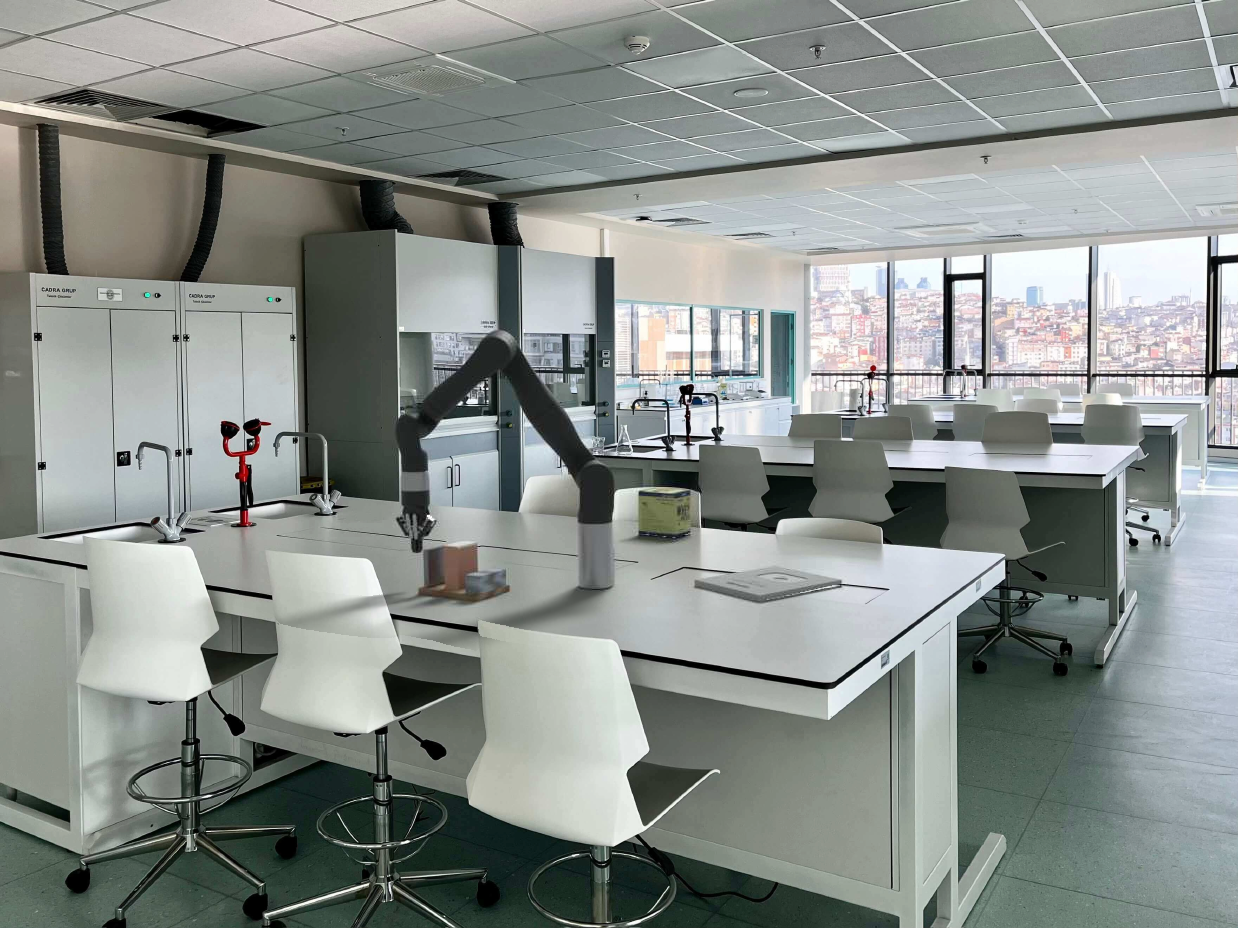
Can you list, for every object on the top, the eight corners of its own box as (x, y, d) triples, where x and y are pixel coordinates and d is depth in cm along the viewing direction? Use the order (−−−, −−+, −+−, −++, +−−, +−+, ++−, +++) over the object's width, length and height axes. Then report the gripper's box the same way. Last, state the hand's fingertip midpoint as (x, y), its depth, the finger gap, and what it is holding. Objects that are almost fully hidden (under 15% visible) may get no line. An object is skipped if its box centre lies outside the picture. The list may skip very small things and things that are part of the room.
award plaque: (694, 587, 276) (694, 579, 276) (775, 573, 294) (775, 565, 293) (759, 603, 256) (759, 595, 256) (841, 587, 274) (841, 579, 274)
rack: (453, 583, 282) (453, 561, 281) (509, 590, 272) (509, 568, 272) (418, 593, 270) (417, 570, 270) (475, 601, 260) (475, 577, 260)
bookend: (452, 578, 280) (451, 543, 279) (456, 578, 279) (455, 543, 278) (424, 585, 271) (423, 549, 270) (428, 586, 270) (427, 550, 269)
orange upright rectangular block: (464, 582, 276) (463, 540, 275) (478, 584, 274) (477, 542, 273) (444, 588, 269) (443, 545, 268) (458, 589, 267) (457, 546, 266)
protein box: (676, 538, 352) (676, 493, 351) (637, 535, 360) (637, 490, 359) (691, 534, 361) (691, 489, 359) (653, 531, 369) (652, 487, 368)
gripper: (443, 488, 277) (445, 552, 278) (406, 485, 284) (408, 548, 285) (424, 491, 270) (426, 556, 272) (386, 488, 277) (388, 552, 279)
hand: (416, 552), depth 279 cm, fingers closed
